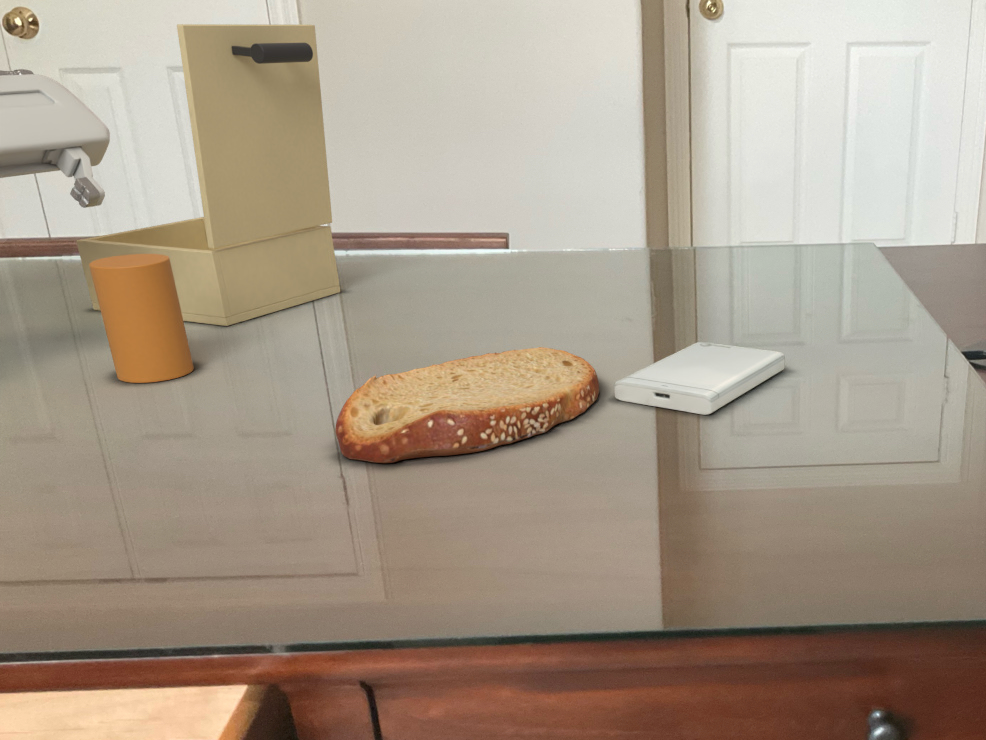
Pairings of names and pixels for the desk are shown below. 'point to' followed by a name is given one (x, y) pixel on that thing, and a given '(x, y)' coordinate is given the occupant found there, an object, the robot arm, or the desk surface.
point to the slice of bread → (464, 405)
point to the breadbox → (228, 268)
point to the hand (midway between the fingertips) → (43, 209)
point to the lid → (256, 128)
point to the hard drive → (700, 377)
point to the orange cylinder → (142, 317)
